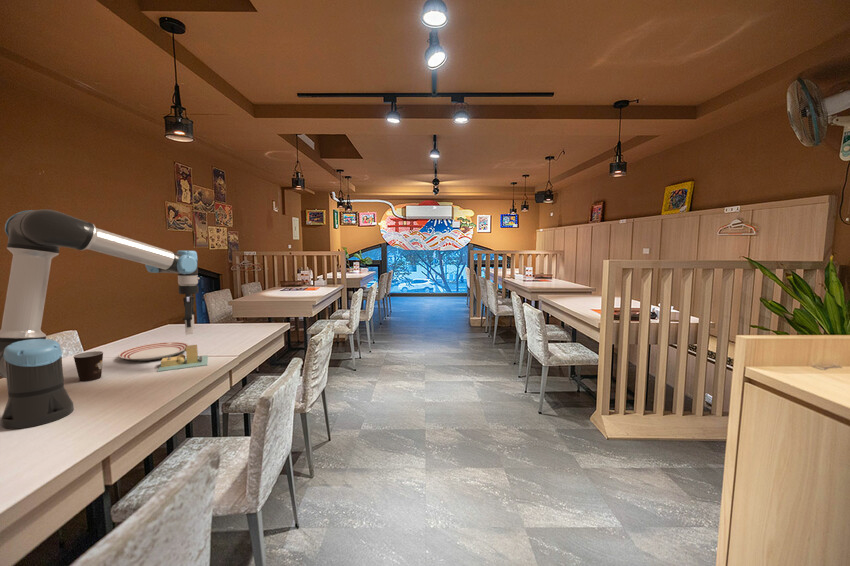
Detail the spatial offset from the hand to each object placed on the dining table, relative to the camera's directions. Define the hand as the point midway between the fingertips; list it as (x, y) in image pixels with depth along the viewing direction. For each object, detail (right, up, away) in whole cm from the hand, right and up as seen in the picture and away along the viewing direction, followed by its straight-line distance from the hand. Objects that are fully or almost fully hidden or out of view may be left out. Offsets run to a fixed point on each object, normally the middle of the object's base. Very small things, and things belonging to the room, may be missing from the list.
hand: (190, 331), depth 164 cm
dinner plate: (-25, -14, +12) cm, 31 cm away
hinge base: (-3, -15, 0) cm, 15 cm away
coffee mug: (-26, -16, -18) cm, 36 cm away
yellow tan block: (0, -14, +2) cm, 14 cm away
